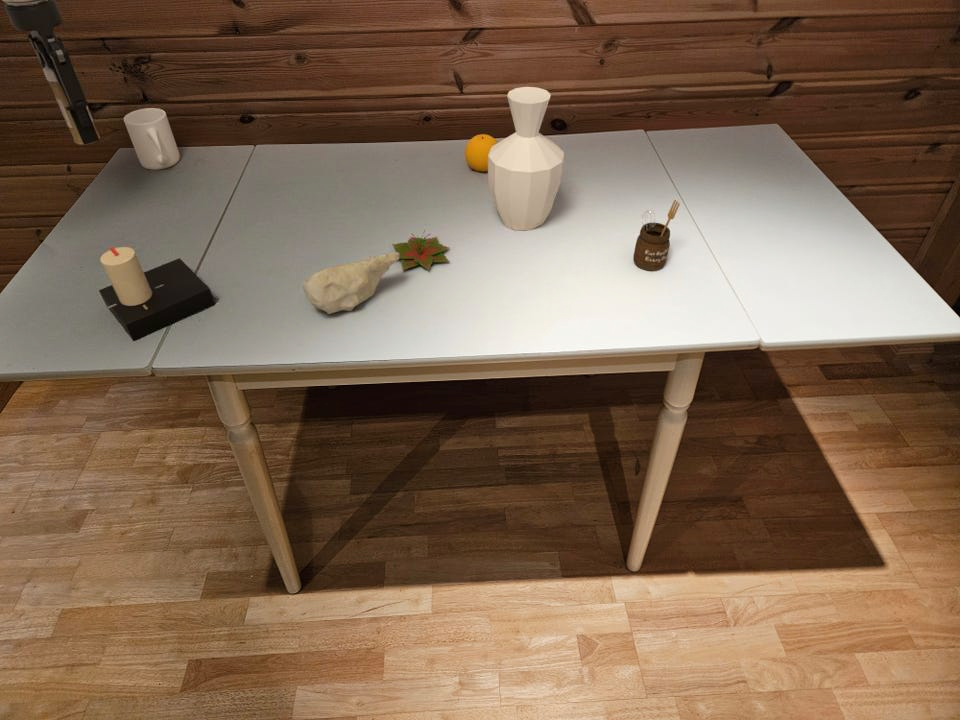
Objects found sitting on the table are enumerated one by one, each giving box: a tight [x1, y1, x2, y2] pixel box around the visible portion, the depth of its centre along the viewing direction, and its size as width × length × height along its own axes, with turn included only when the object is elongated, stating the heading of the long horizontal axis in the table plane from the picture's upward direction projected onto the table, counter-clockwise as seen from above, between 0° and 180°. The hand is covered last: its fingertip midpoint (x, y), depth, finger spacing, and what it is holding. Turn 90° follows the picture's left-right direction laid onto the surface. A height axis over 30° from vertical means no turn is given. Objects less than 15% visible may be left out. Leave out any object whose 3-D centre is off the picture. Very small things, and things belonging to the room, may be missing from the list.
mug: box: [123, 107, 181, 171], centre depth 145 cm, size 9×12×11 cm
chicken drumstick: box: [301, 251, 400, 315], centre depth 110 cm, size 15×7×15 cm
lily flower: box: [391, 230, 450, 272], centre depth 121 cm, size 12×12×5 cm
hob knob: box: [100, 246, 152, 306], centre depth 105 cm, size 5×5×8 cm
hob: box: [98, 257, 216, 342], centre depth 110 cm, size 15×12×4 cm
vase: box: [487, 86, 565, 232], centre depth 123 cm, size 14×14×25 cm
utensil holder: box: [633, 199, 681, 272], centre depth 116 cm, size 6×6×12 cm
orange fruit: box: [464, 133, 499, 172], centre depth 145 cm, size 8×8×8 cm
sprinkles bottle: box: [42, 66, 101, 146], centre depth 119 cm, size 5×5×14 cm
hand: (86, 137), depth 123 cm, fingers closed on sprinkles bottle, 4 cm apart
